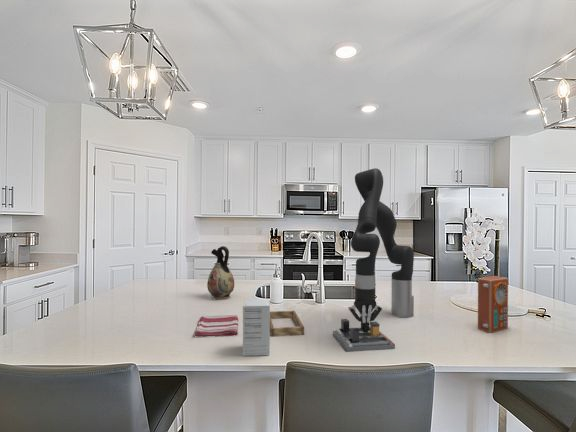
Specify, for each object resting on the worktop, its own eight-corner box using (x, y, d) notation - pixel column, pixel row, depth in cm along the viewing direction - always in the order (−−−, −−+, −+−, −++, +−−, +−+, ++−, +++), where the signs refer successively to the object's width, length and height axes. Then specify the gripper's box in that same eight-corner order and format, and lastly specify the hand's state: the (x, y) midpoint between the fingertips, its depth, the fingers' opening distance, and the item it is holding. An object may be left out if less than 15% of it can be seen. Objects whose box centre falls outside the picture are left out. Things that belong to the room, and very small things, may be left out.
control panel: (511, 328, 138) (490, 334, 131) (494, 323, 144) (473, 328, 137) (511, 277, 138) (490, 280, 131) (494, 275, 144) (473, 277, 137)
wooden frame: (294, 317, 152) (294, 310, 152) (304, 334, 129) (304, 327, 129) (266, 318, 150) (266, 311, 150) (271, 336, 127) (271, 328, 127)
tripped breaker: (376, 334, 125) (376, 321, 125) (379, 337, 122) (379, 324, 122) (369, 335, 125) (370, 321, 125) (373, 337, 122) (373, 324, 122)
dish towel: (193, 339, 125) (193, 332, 125) (200, 320, 149) (200, 314, 149) (237, 337, 128) (237, 330, 128) (238, 318, 151) (238, 312, 151)
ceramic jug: (201, 298, 185) (201, 246, 185) (221, 293, 198) (221, 244, 198) (222, 303, 175) (222, 247, 175) (241, 297, 188) (242, 245, 188)
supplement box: (269, 355, 109) (270, 305, 109) (242, 356, 109) (242, 306, 109) (269, 344, 119) (269, 298, 119) (243, 345, 118) (244, 299, 118)
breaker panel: (375, 332, 132) (376, 316, 132) (395, 348, 116) (395, 330, 116) (333, 334, 129) (333, 318, 129) (346, 351, 113) (346, 332, 113)
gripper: (377, 283, 128) (377, 327, 128) (345, 284, 126) (345, 329, 126) (386, 287, 120) (385, 334, 120) (351, 288, 118) (351, 336, 118)
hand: (365, 331), depth 123 cm, fingers closed
